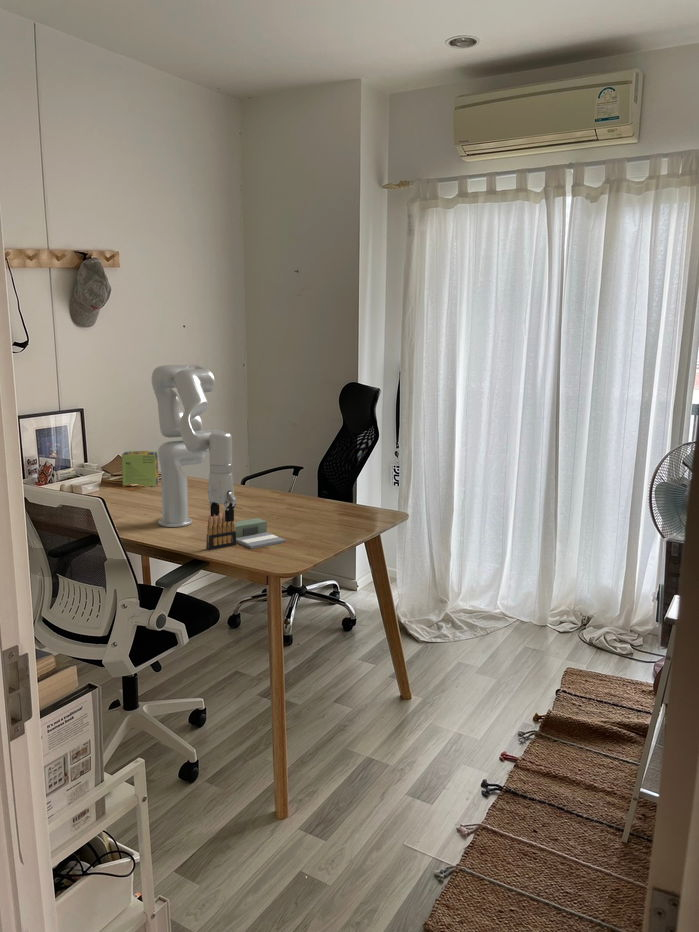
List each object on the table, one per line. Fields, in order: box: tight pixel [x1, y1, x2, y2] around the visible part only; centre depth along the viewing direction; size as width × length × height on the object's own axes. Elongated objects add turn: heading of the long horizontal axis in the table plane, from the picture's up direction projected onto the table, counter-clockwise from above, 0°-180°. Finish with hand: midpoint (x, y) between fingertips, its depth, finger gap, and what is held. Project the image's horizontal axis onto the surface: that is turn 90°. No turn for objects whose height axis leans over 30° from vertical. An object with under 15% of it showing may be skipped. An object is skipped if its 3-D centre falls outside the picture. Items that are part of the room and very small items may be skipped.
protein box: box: [121, 450, 160, 487], centre depth 346 cm, size 10×15×16 cm
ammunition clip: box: [205, 512, 237, 551], centre depth 252 cm, size 11×2×12 cm, turn 128°
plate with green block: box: [235, 517, 286, 550], centre depth 262 cm, size 18×14×5 cm
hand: (222, 518), depth 251 cm, fingers open, 9 cm apart
